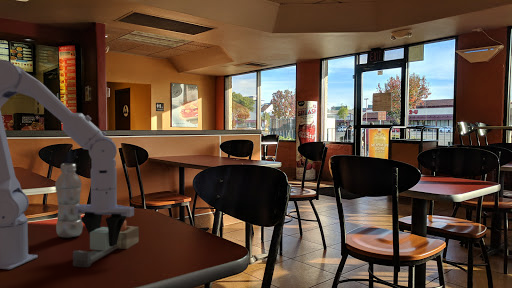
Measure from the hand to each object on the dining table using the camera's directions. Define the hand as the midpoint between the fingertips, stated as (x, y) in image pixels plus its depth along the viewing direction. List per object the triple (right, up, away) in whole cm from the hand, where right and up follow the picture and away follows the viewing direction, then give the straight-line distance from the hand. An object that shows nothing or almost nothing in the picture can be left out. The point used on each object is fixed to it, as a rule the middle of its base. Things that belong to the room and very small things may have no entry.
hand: (104, 244), depth 92 cm
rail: (0, -2, -2) cm, 3 cm away
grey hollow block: (+1, -2, +7) cm, 7 cm away
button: (+1, 0, +7) cm, 7 cm away
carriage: (0, 0, 0) cm, 0 cm away
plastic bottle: (-15, -2, +13) cm, 20 cm away
